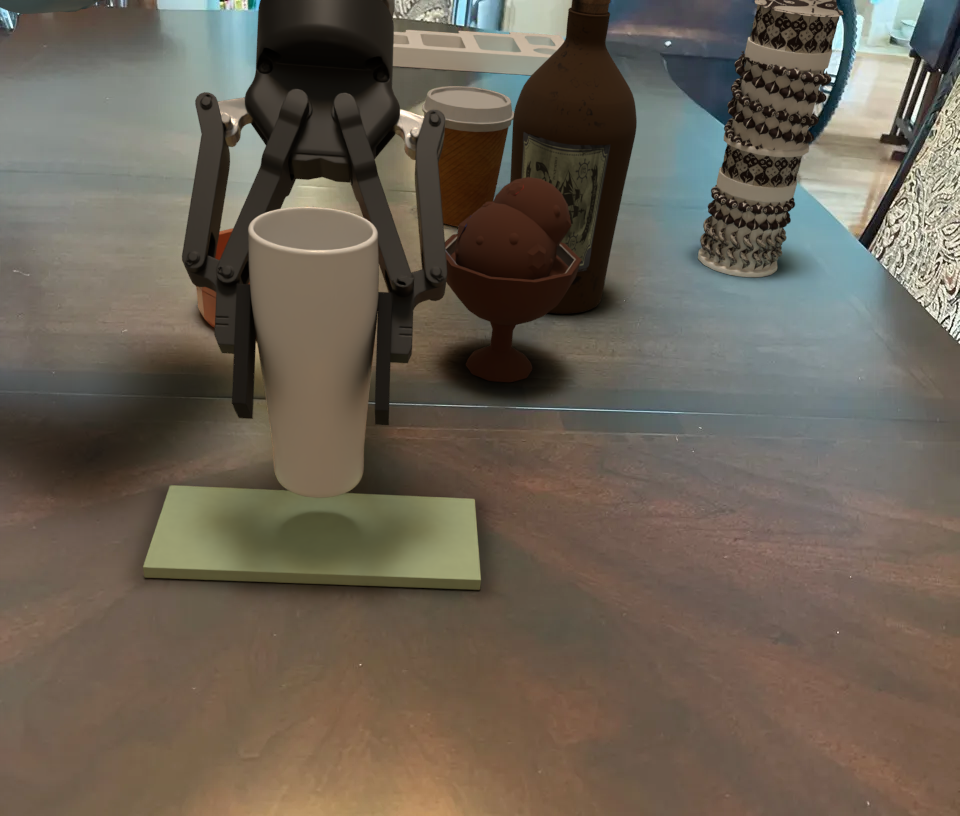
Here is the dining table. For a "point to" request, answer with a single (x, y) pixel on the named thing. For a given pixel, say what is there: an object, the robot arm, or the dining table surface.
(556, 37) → the holder
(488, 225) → the ice cream bowl
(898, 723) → the dining table surface
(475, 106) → the disposable coffee cup
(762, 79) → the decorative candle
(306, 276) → the drinking glass
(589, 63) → the olive oil
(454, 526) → the mat
